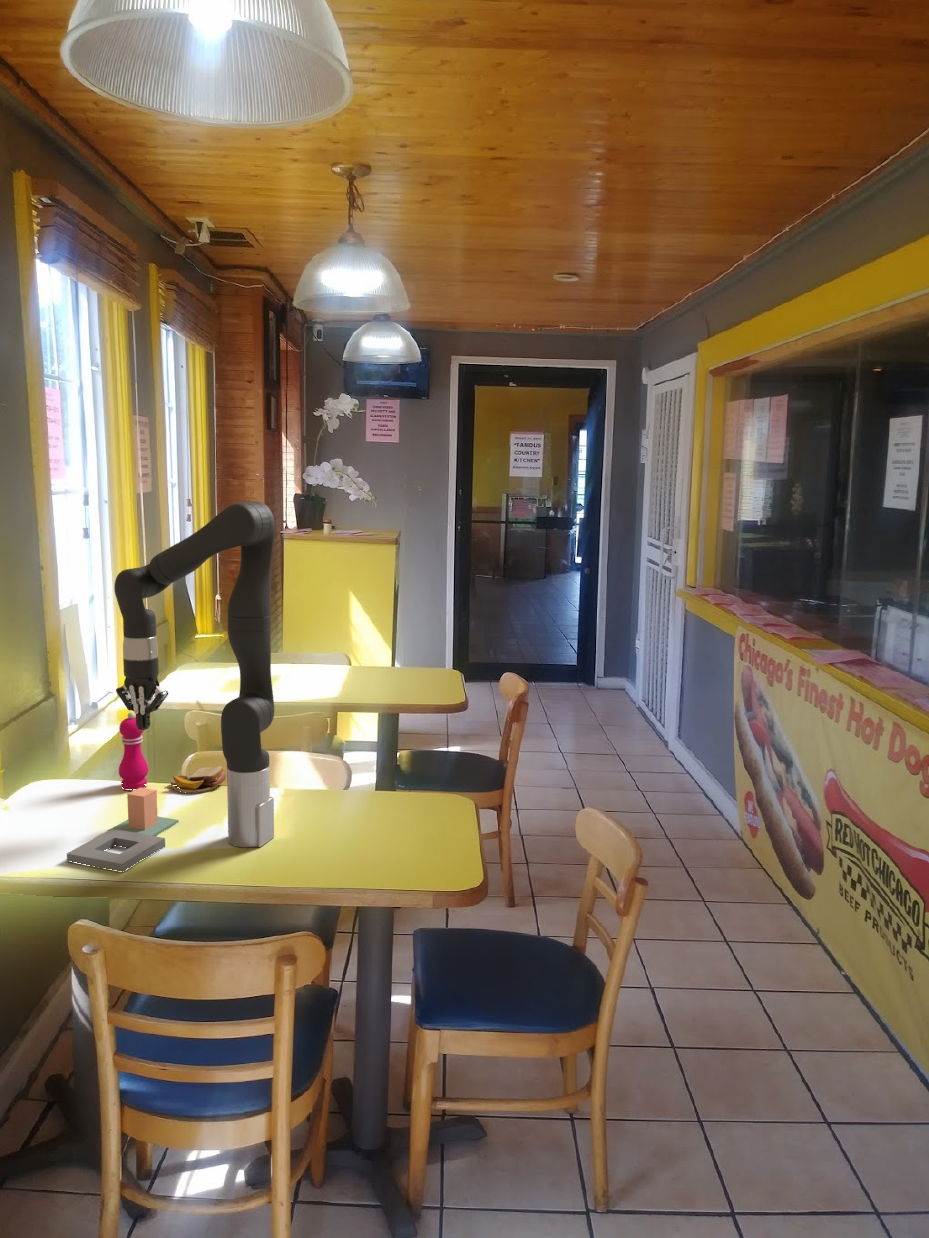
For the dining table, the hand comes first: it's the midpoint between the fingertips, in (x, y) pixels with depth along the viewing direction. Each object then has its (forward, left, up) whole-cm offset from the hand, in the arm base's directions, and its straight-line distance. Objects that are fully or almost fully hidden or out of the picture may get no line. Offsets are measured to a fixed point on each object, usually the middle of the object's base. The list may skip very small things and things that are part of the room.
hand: (143, 728), depth 210 cm
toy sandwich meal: (+3, -25, -23) cm, 34 cm away
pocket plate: (-6, +17, -23) cm, 29 cm away
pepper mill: (+17, -18, -23) cm, 34 cm away
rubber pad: (-2, +3, -23) cm, 23 cm away
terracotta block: (-2, +3, -22) cm, 22 cm away
